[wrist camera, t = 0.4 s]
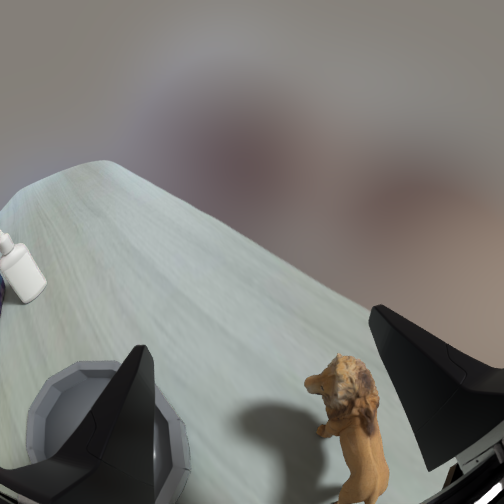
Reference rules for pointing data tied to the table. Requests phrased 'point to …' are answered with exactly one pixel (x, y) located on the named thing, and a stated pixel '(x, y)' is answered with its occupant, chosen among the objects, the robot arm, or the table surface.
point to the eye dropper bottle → (20, 269)
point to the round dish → (80, 402)
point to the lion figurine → (353, 426)
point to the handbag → (1, 291)
